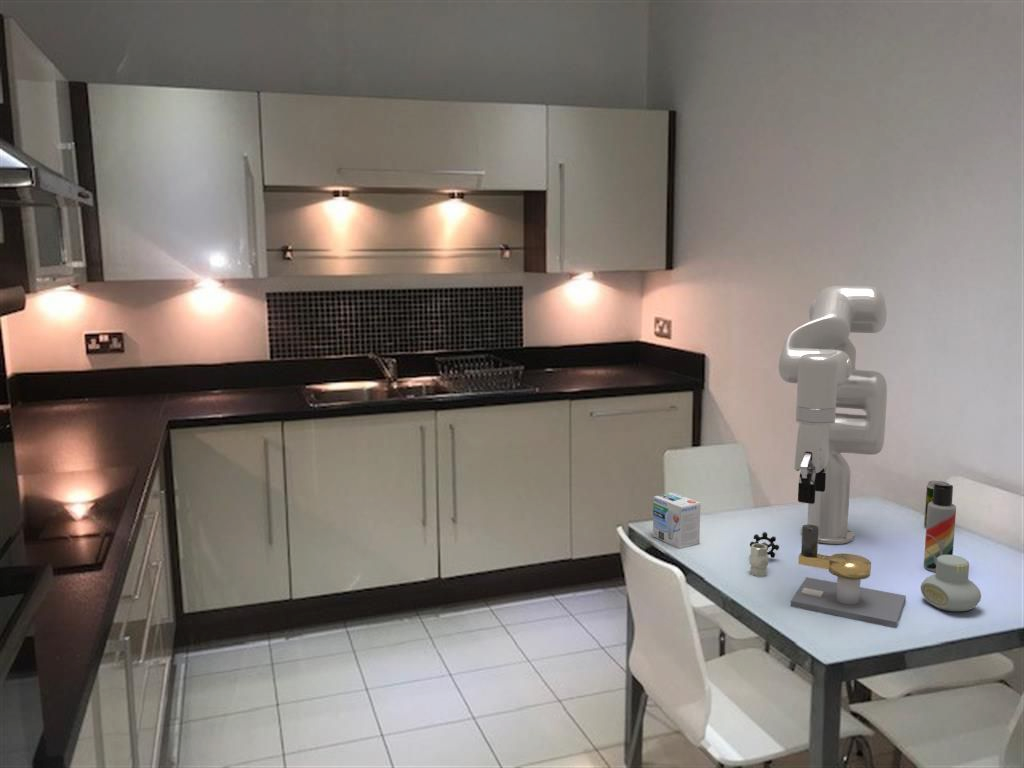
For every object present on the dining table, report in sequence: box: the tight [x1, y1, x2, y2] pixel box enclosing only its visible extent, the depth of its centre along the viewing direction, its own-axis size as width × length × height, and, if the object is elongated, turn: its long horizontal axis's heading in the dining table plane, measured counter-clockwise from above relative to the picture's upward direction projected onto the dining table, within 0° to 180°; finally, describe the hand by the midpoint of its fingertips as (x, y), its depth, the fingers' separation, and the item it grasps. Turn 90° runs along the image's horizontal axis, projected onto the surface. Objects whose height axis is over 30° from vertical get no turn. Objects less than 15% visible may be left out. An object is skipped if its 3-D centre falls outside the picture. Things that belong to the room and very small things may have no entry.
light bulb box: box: [652, 491, 701, 550], centre depth 213 cm, size 11×7×11 cm, turn 31°
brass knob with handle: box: [798, 524, 872, 581], centre depth 175 cm, size 8×14×8 cm, turn 59°
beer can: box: [923, 480, 951, 529], centre depth 218 cm, size 5×5×12 cm
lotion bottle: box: [923, 484, 957, 573], centre depth 192 cm, size 6×6×20 cm
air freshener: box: [920, 554, 982, 612], centre depth 174 cm, size 11×8×10 cm
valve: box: [748, 531, 780, 577], centre depth 195 cm, size 7×7×12 cm
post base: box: [790, 576, 907, 629], centre depth 176 cm, size 14×20×7 cm
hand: (811, 496), depth 175 cm, fingers open, 9 cm apart
